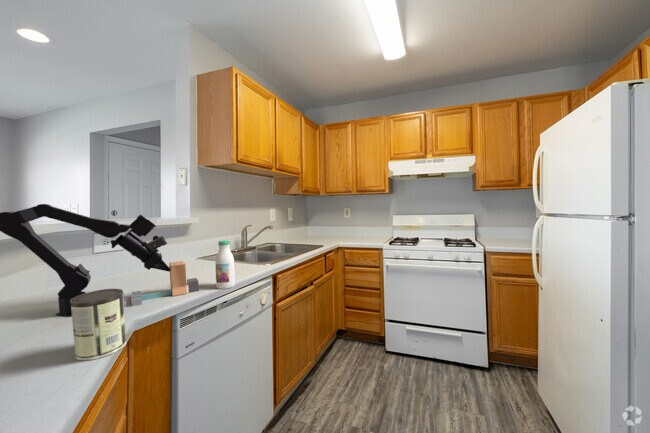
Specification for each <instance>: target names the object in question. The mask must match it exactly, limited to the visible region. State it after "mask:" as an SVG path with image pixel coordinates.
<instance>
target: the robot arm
mask: <svg viewBox="0 0 650 433" xmlns="http://www.w3.org/2000/svg"><path fill="white" fill-rule="evenodd" d="M44 217H45V218H48V219H52V220H55V221H58V222H63V223H66V224H70V225H74V226H77V227H81V228H84V229H87V230H89V231H92V232H94V233H96V234H98V235H100V236H102V237H105V238H109V239H111V240H110V244H111V249H114V248H116V246H119V247H121V248H122V249H124V250H125V251H127V252H128V253H129V254H130V255H131V256H133V257H135V258H136V259H139V261H141V263H143V267H144V268H145V269H147V270H148V271H150V270H151V269H155V270H161V271H165V272H168V273H170V270H171V269H170V268H169V266H168V265H167V263H166V262H165V261H164V260H163V255H162V254H161V252H160V251H159V248H161V247H162V246H166V245H167V244H168V242H167V241H166V239H165V238H164V236H163V235H160V236H158V235H154V236H152V239H151V240H149V241H148V242H146V241H145V240H144V241H143V240H141V239H140V238H141V237H146V236H147V235H148V234H149V233H151V231H152V230H154V229H155V228H156V226H157V225H156V224H154V222H152V221H151V220H150V219H147V218H146V217H144V215H143V214H139V215H138V216H137V217H136V219H134V221H132V222H131V223H130V224H127V223H126V224H124V223H123V224H121V223H119V222H117V221H115V220H108V219H101V218H93V217H90V216H86V215H83V214H79V213H76V212H73V211H69V210H65V209H62V208H58V207H56V206H52V205H50V204H47V203H41V204H37V205H34V206H33V207H28V208H24V209H20V210H17V211H2V212H0V233H3V234H4V235H6V236H8V237H10V238H13V239H15V240H17V241H19V242H20V243H22V245H24V246H25V247H26V248H27V249H29V250H30V252H32V253H33V254H34V255H35V256H37V257H38V258H39V259H40V260H42V262H44V263H45V264H46V265H48V266H49V267H50V268H51V269H53V271H55V273H57V275H58V276H59V277H58V278H59V279H60V281H61V282H62V283H63V285H64V286H63V287H61V289H60V290H58V292H57V296H58V297H57V298H58V300H57V302H58V312H56V313H55V315H56V316H62V317H63V316H64V317H72V311H71V304H70V300H71V299H72V298H74V297H76V296H78V295H81V294H84V293H86V291H83V290H85V289H86V288H87V287H88V285H89V284H90V281H91V279H92V276H91V274H90V270H88V269H86V268H85V267H84V265H83V264H82V263H79V264H78V265H75V264H72V263H71V262H70V261H68V260H67V259H66V258H65V257H63V255H61V254H60V253H59V252H58V251H57V250H55V248H53V246H51V245H50V244H49V243H48V242H47V241H46V240H44V239H43V238H42V236H40V235H39V234H37V233H36V232H35V230H34V228H33V226H32V224H31V223H30V222H32V221H35V220H38V219H41V218H44ZM127 231H128V232H127ZM122 233H125V234H122ZM118 235H119V236H118ZM117 236H118V237H117ZM115 237H116V238H115ZM112 238H115V239H112Z"/></svg>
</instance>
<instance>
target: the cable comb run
mask: <svg viewBox="0 0 650 433" xmlns="http://www.w3.org/2000/svg"><path fill="white" fill-rule="evenodd" d="M186 286H187V293H186V294H190V293H194V292H199V289H200V288H199V287H200V286H199V280H198V278H197V277H194V278H188V279H187V278H186ZM167 296H173V295H172V290H171V289H168V290H162V291H157V292H151V293H145V294H142V290H137V291H132V292H131V307H135V305H136V306H140V304H141V305H143V304H142V303H143V301H146V300H151V298H152V299H156V297H157V298H161V297H167ZM145 299H146V300H145Z"/></svg>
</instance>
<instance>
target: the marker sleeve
mask: <svg viewBox="0 0 650 433" xmlns="http://www.w3.org/2000/svg"><path fill="white" fill-rule="evenodd" d="M168 265H169V266H168V267H169V268H170V269H171V270H170V271H169V280H170V282H169V284H170V286H169V287H170V290H172V295H171V296H172V297H176V296H180V295H184V294H185V295H186V294H188V293H187V286H186V283H187V270H186V263H185V262H184V261H183V260H181V261H173V262H169V263H168Z"/></svg>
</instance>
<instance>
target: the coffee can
mask: <svg viewBox="0 0 650 433" xmlns="http://www.w3.org/2000/svg"><path fill="white" fill-rule="evenodd" d="M123 295H124V290H123V289H121V288H106V289H105V288H103V289H100V290H99V289H97V290H93V291H89V292H85V293H84V294H81V295H78V296H76V297H74V298H72V299H71V300H70V304H71V311H72V316H71V319H72V332H73V342H74V344H73V345H74V358H75V359H76V360H77V361H92V360H98V359H102V358H105V357H107V356H110V355H113V354H115V353H117V352H119V351H120V350H122V349H123V348H124V347H126V345H127V340H126V323H125V311H124V296H123Z"/></svg>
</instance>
